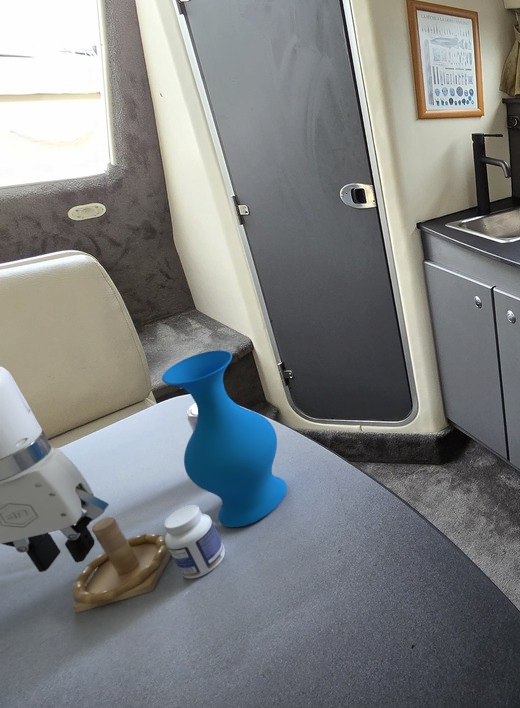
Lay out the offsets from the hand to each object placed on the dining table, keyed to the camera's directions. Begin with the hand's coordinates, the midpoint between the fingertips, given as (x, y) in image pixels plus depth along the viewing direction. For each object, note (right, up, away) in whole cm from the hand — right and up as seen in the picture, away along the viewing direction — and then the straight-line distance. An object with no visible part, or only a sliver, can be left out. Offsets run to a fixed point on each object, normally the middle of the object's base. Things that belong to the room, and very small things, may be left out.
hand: (68, 556), depth 70 cm
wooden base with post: (+5, -5, +4) cm, 8 cm away
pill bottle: (+16, -4, +5) cm, 17 cm away
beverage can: (+7, +2, +22) cm, 23 cm away
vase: (+16, 0, +15) cm, 22 cm away
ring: (+5, -3, +3) cm, 6 cm away
